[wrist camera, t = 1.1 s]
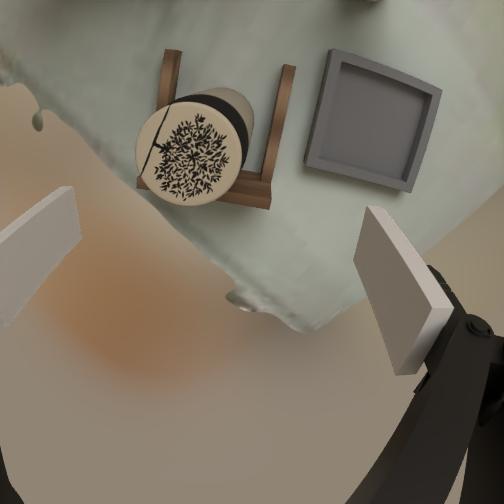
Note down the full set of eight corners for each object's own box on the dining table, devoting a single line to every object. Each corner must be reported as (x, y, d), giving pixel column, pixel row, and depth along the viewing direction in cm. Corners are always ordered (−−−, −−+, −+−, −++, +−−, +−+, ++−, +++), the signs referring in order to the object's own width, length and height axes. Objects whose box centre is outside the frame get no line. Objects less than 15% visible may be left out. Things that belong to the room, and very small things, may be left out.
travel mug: (267, 112, 35) (269, 143, 19) (229, 162, 38) (203, 230, 23) (212, 75, 32) (168, 76, 17) (176, 128, 36) (113, 172, 21)
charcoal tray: (328, 50, 30) (333, 48, 28) (433, 88, 31) (442, 90, 29) (303, 160, 38) (305, 166, 36) (403, 186, 39) (410, 193, 36)
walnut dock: (172, 50, 31) (149, 46, 24) (293, 67, 32) (301, 64, 25) (158, 166, 39) (136, 188, 32) (268, 184, 40) (269, 209, 33)
